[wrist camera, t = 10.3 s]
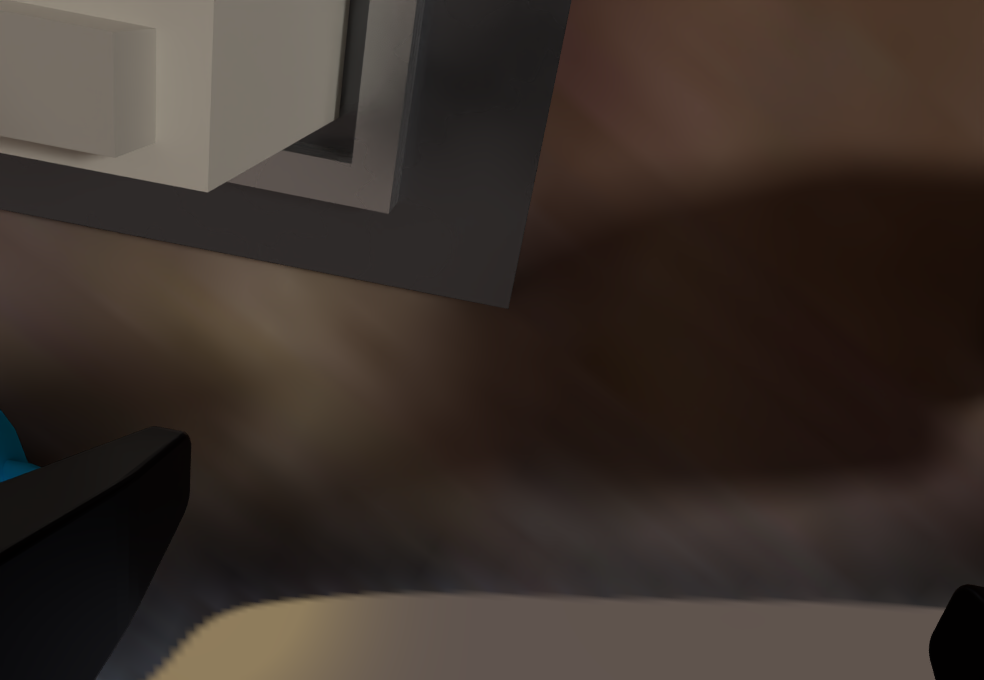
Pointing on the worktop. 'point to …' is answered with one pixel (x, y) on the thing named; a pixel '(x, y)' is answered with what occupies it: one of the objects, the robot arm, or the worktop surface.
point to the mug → (11, 452)
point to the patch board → (369, 159)
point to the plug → (167, 83)
